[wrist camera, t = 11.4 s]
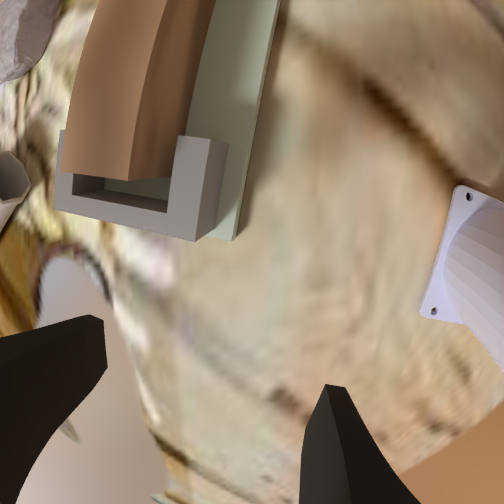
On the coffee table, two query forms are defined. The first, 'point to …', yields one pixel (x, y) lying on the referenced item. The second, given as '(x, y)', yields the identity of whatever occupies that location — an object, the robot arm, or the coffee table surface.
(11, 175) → the tube
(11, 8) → the stone block
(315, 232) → the coffee table surface
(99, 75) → the slat
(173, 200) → the end cap cradle
